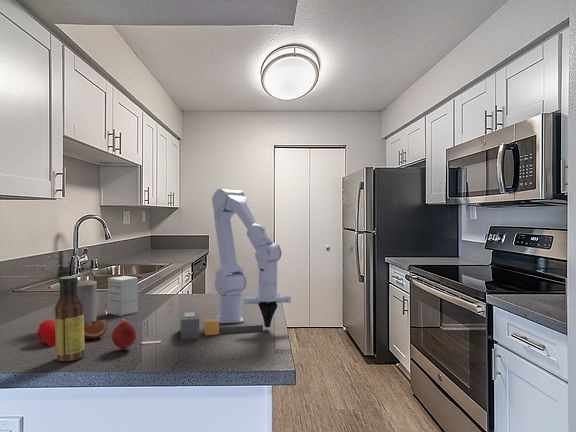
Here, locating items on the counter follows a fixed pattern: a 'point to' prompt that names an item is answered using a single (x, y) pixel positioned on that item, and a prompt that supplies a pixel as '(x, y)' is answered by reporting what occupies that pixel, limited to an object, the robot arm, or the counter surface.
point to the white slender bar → (151, 342)
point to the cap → (47, 332)
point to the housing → (189, 325)
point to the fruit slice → (95, 329)
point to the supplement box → (122, 295)
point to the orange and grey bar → (228, 327)
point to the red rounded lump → (124, 335)
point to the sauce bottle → (69, 322)
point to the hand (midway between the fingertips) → (267, 326)
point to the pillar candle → (88, 298)
